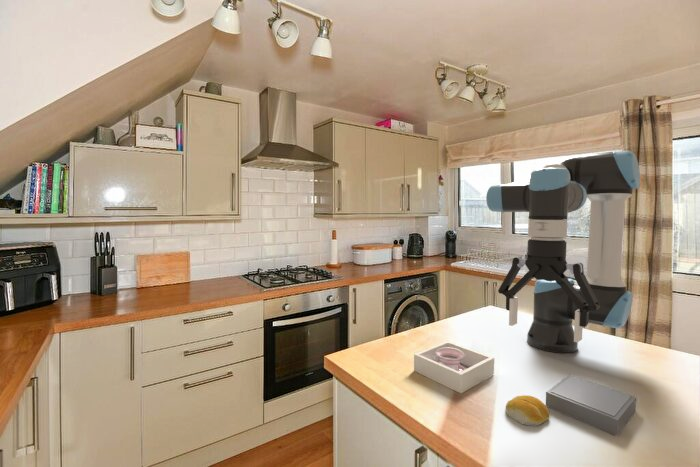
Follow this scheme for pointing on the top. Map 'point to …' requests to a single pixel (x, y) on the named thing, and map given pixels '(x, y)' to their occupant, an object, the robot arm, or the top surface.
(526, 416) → the bread roll
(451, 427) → the top surface
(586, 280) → the robot arm
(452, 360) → the teacup
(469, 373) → the white open box
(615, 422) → the grey square block
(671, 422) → the top surface
